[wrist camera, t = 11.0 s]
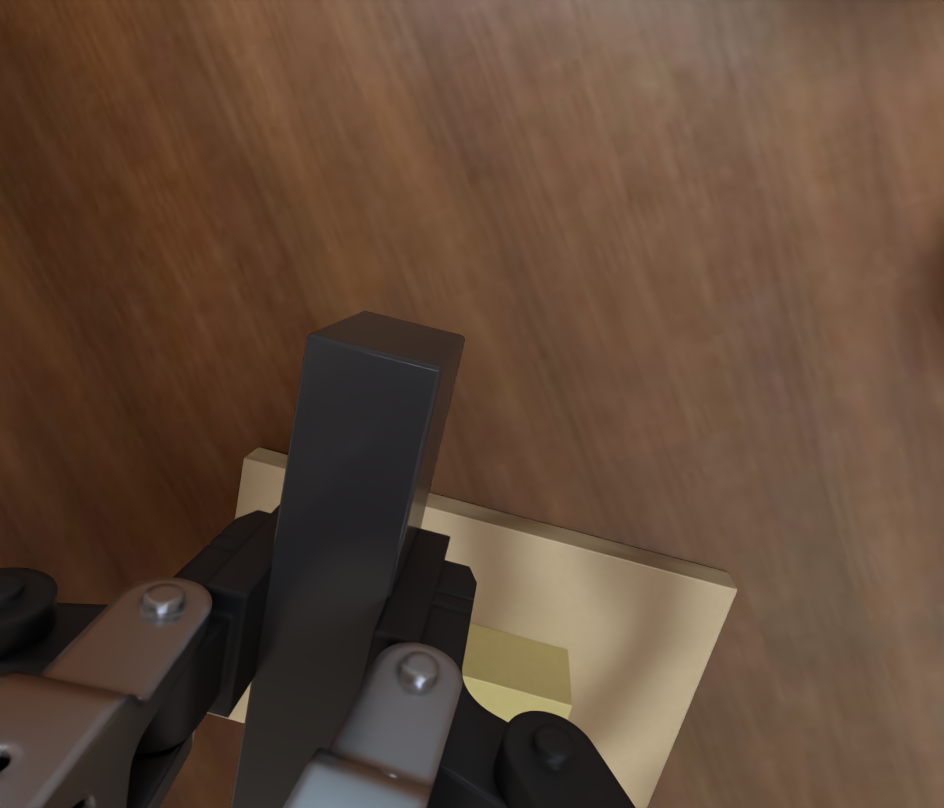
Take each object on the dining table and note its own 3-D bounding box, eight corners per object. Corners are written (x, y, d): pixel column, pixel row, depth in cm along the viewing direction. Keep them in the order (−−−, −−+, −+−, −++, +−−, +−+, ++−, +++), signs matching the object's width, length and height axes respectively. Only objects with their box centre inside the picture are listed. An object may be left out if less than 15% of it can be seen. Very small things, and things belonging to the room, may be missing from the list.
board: (220, 691, 32) (206, 713, 31) (258, 446, 28) (243, 457, 27) (632, 806, 32) (636, 833, 30) (727, 571, 28) (737, 589, 26)
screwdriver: (363, 309, 12) (306, 333, 9) (466, 335, 12) (442, 368, 9) (232, 1014, 17) (170, 1171, 14) (301, 1035, 17) (253, 1197, 14)
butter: (421, 685, 29) (406, 744, 26) (439, 614, 28) (426, 665, 25) (544, 719, 29) (545, 783, 26) (568, 649, 28) (572, 705, 24)
